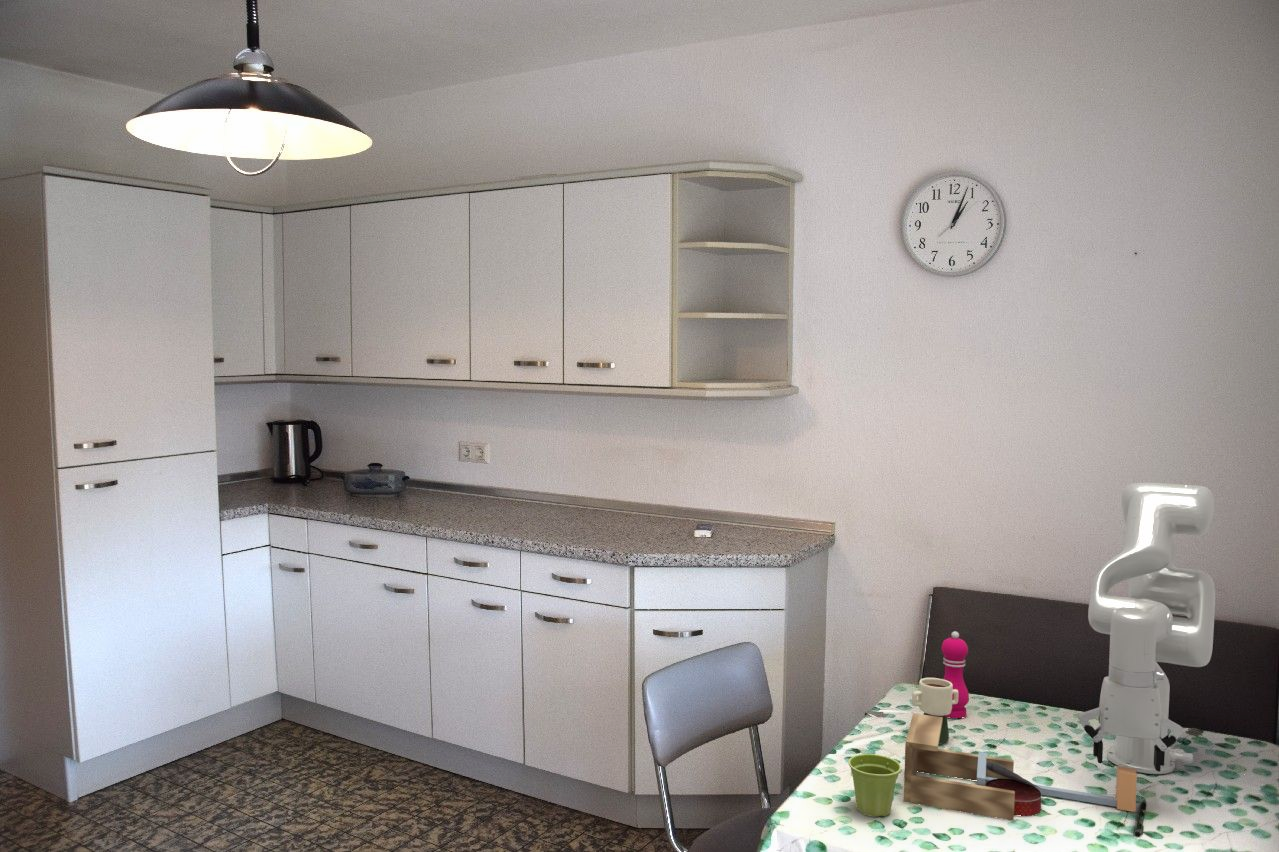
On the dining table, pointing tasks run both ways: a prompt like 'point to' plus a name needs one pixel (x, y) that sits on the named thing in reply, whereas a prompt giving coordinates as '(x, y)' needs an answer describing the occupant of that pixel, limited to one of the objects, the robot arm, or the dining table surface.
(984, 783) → the pull rod
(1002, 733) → the dining table surface
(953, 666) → the pepper mill
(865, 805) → the plant pot
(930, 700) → the character mug
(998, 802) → the shelf lane
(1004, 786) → the canned food
